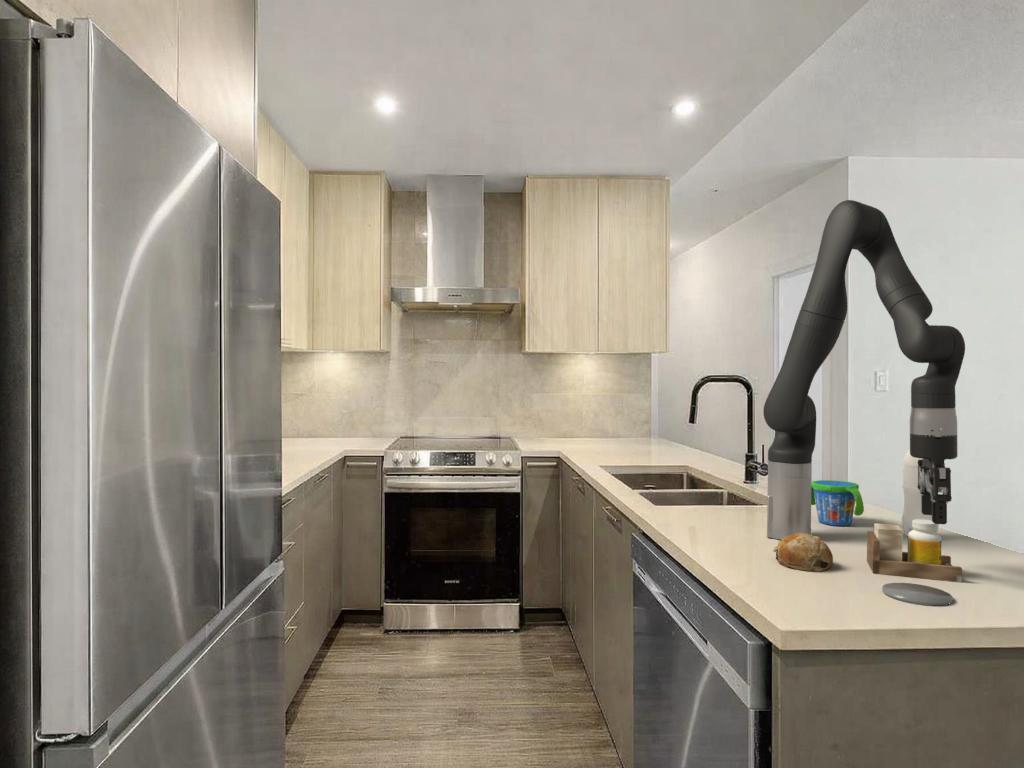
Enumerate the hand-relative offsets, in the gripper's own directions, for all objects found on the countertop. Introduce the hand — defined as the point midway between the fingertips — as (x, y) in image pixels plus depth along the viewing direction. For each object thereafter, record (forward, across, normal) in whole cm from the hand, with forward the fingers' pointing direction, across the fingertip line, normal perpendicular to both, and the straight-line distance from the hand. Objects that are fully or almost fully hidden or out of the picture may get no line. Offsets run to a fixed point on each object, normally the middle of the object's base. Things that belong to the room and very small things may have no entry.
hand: (933, 519), depth 124 cm
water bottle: (+10, -32, +4) cm, 34 cm away
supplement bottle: (+10, 0, -2) cm, 10 cm away
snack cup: (+10, -40, -13) cm, 43 cm away
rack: (+10, 0, -4) cm, 11 cm away
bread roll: (+10, +3, -23) cm, 25 cm away
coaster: (+10, +16, -6) cm, 20 cm away
